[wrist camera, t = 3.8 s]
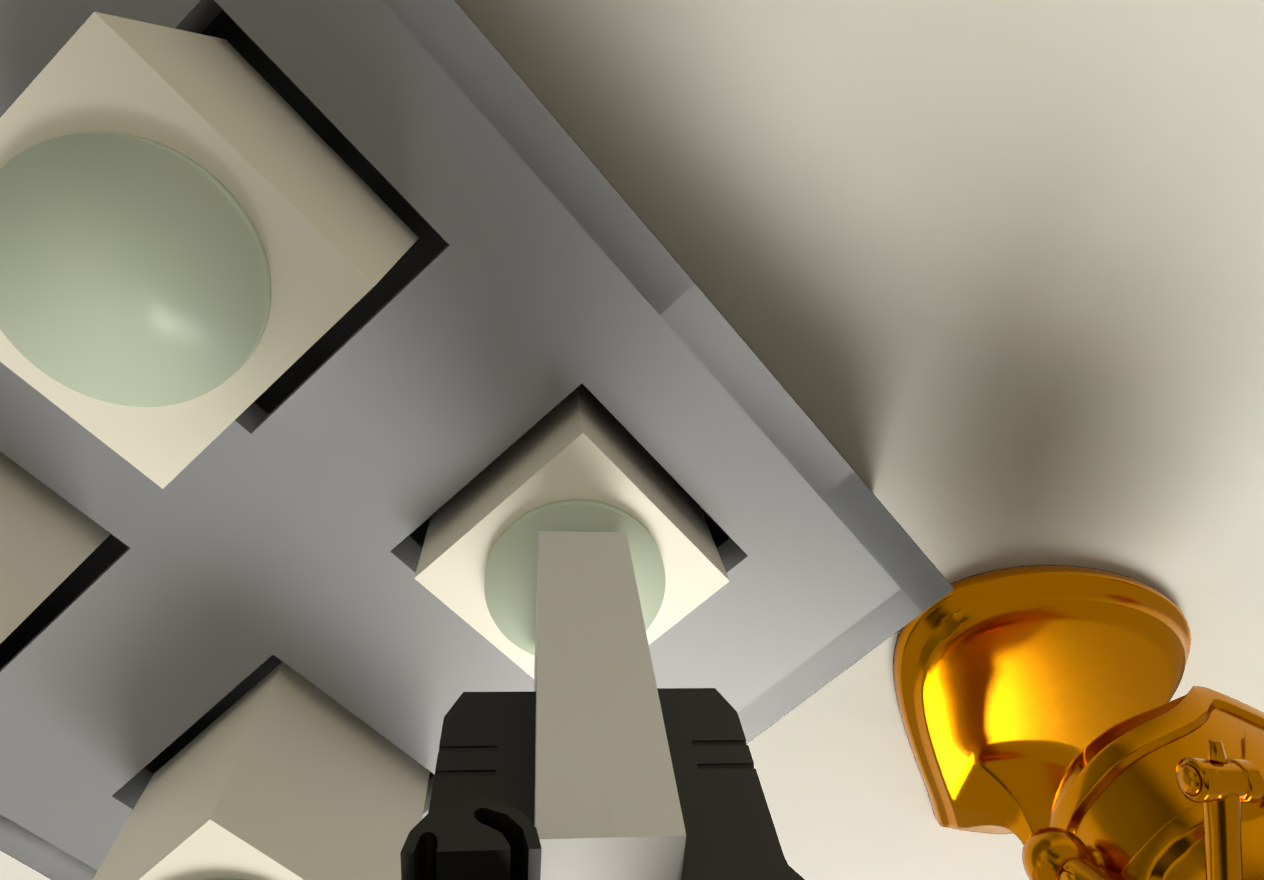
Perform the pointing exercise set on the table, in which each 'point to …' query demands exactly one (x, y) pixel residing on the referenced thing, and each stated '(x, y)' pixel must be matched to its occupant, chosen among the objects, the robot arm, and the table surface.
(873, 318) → the table surface
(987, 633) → the figurine
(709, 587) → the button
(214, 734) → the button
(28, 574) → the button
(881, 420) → the table surface
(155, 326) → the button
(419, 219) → the button box
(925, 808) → the table surface
